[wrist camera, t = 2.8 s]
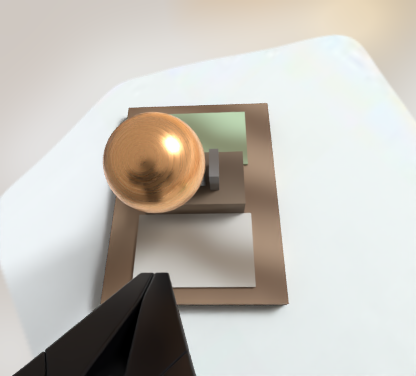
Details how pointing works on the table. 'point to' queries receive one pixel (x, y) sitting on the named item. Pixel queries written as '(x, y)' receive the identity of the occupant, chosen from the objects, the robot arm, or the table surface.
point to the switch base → (211, 218)
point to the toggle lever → (154, 162)
